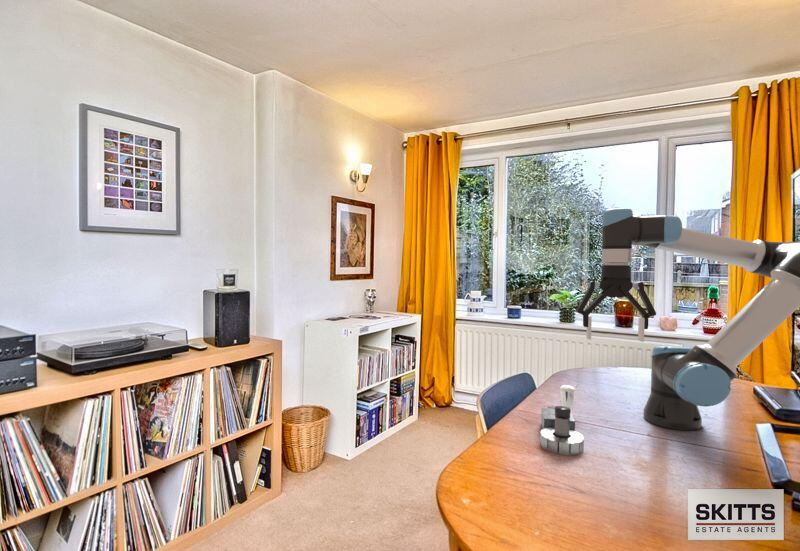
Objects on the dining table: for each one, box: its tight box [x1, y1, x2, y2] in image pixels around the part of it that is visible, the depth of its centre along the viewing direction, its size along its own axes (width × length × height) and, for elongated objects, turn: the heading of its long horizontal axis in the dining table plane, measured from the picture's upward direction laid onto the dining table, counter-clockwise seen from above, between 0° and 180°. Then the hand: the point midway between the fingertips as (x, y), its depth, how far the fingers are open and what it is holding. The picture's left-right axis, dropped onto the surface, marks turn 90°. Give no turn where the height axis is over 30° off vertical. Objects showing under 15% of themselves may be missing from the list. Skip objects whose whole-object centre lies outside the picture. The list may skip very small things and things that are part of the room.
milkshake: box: [559, 383, 579, 415], centre depth 140 cm, size 5×5×10 cm
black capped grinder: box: [554, 405, 570, 438], centre depth 116 cm, size 4×4×10 cm
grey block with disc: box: [539, 406, 585, 456], centre depth 121 cm, size 10×22×5 cm, turn 166°
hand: (614, 339), depth 125 cm, fingers open, 13 cm apart
